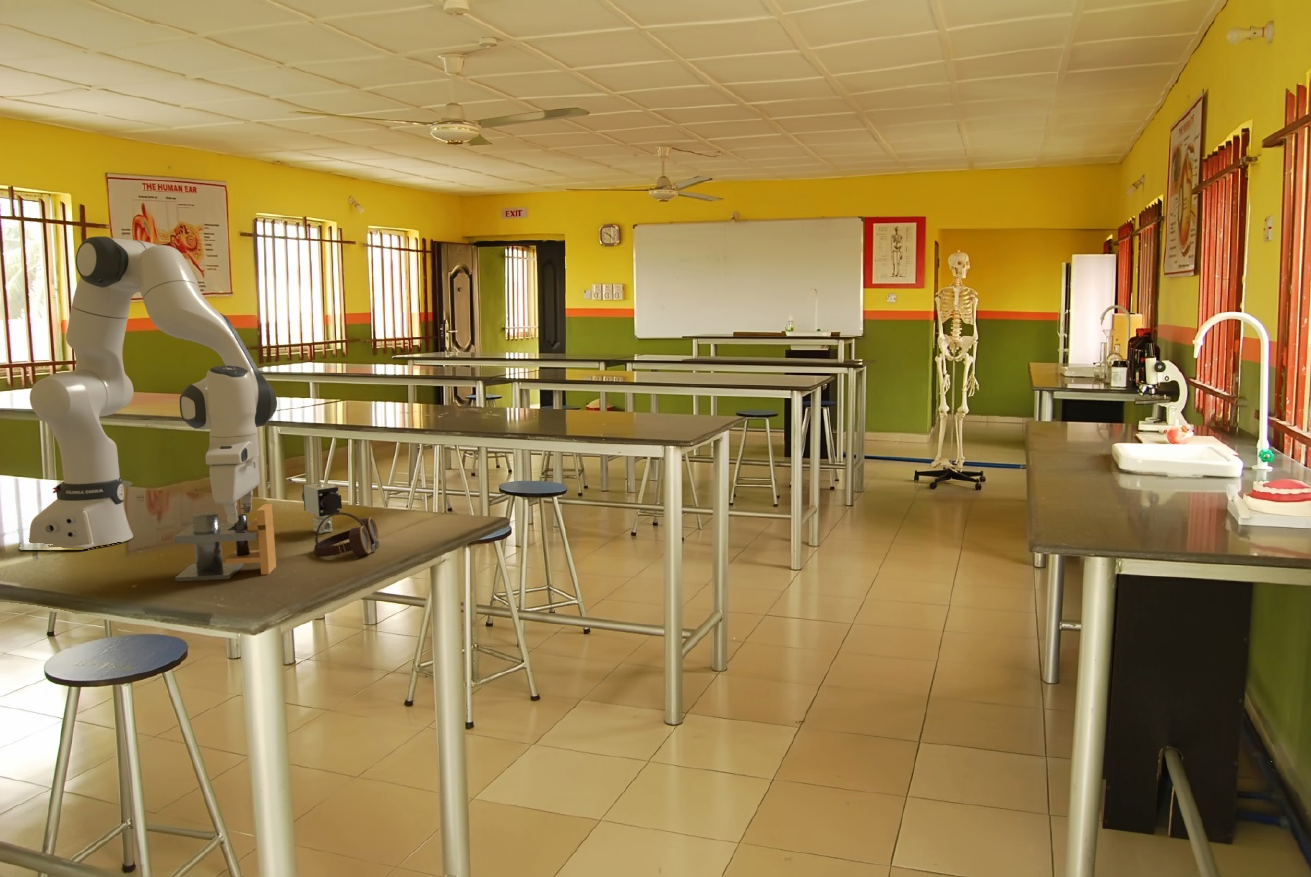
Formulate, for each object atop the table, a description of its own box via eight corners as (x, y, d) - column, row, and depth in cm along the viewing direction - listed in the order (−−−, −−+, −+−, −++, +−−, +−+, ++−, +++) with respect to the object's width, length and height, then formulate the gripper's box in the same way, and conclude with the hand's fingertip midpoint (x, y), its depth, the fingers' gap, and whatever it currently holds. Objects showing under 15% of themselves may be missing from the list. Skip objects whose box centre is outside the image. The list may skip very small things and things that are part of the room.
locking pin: (235, 556, 199) (232, 517, 198) (238, 552, 201) (235, 514, 200) (248, 555, 199) (244, 516, 198) (251, 552, 202) (248, 513, 200)
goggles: (372, 558, 209) (358, 513, 207) (310, 574, 208) (296, 529, 207) (385, 540, 224) (372, 498, 223) (328, 555, 223) (315, 513, 222)
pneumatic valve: (324, 537, 228) (320, 486, 227) (303, 529, 237) (299, 479, 235) (347, 533, 232) (343, 482, 230) (325, 525, 241) (322, 476, 239)
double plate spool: (175, 581, 194) (170, 521, 193) (192, 567, 204) (187, 510, 203) (258, 577, 196) (254, 517, 195) (271, 563, 206) (266, 506, 205)
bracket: (226, 576, 198) (221, 511, 196) (235, 568, 203) (230, 505, 202) (269, 574, 199) (264, 510, 197) (276, 566, 204) (271, 503, 203)
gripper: (233, 441, 207) (238, 507, 209) (202, 457, 187) (207, 529, 189) (264, 440, 208) (269, 505, 210) (237, 456, 188) (242, 528, 190)
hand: (240, 517), depth 199 cm, fingers open, 8 cm apart
